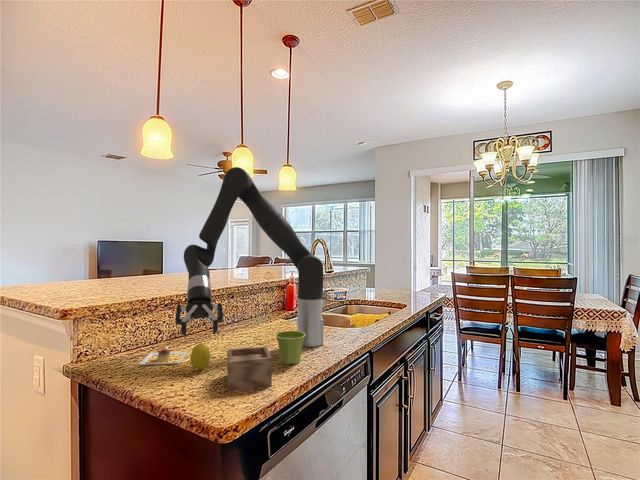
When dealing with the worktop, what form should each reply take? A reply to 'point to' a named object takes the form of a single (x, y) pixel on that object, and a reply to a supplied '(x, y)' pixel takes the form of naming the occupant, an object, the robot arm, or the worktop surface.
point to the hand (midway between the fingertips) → (199, 333)
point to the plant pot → (290, 346)
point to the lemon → (200, 356)
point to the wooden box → (249, 368)
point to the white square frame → (162, 357)
